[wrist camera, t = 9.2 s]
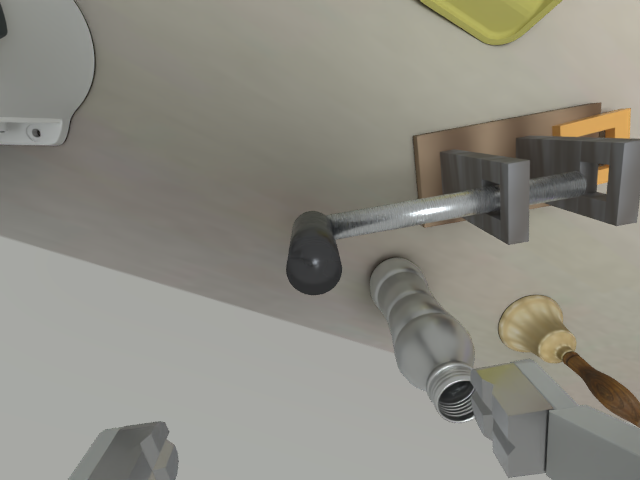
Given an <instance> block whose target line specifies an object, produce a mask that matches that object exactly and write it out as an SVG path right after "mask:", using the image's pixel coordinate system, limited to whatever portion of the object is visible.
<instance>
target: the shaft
mask: <svg viewBox="0 0 640 480" xmlns="http://www.w3.org/2000/svg"><path fill="white" fill-rule="evenodd" d="M585 190H586V179H585V177H584V175H583V174H582V173H581V172H579V171H573V172H568V173H562V174H556V175H551V176H545V177H540V178H534V179H530V189H529V205H533V204H539V203H545V202H550V201H556V200H562V199H567V198H573V197H579V196H581V195H583V194H584V192H585ZM499 210H500V185H495V186H489V187H484V188H478V189H472V190H467V191H461V192H456V193H450V194H444V195H439V196H433V197H428V198H422V199H416V200H411V201H405V202H400V203H394V204H388V205H383V206H377V207H372V208H366V209H360V210H355V211H349V212H344V213H338V214H332V215H327V216H325V215H324V214H322V213H320V212H316V211H309V212H305V213H303V214H301V215H300V216H299V217H298V218H297V219H296V220H295V222H294V224H293V229H292V235H291V241H290V248H289V254H288V260H287V267H286V272H287V277H288V279H289V282H290V283H291V284H292V286H293V287H294V288H295V289H297V290H298V291H300V292H302V293H304V294H308V295H320V294H323V293H326V292H328V291H330V290H331V289H332V288H334V287H335V286H336V284H337V283H338V282H339V280H340V277H341V273H342V265H341V261H340V257H339V253H338V248H337V244H336V240H335V239H341V238H347V237H352V236H358V235H364V234H369V233H375V232H381V231H386V230H392V229H398V228H403V227H409V226H415V225H420V224H426V223H432V222H437V221H443V220H448V219H454V218H460V217H465V216H471V215H477V214H482V213H488V212H494V211H499Z"/></svg>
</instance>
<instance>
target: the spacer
mask: <svg viewBox="0 0 640 480" xmlns="http://www.w3.org/2000/svg"><path fill="white" fill-rule="evenodd" d="M630 112H631V108H626V109H618V110H614V111H610V112H606V113H602V114H598V115H594V116H590V117H586V118H583V119H579V120H575V121H571V122H567V123H563V124H559V125H555V126H552V135H553V136H562V137H579V136H583V135H587V134H591V133H595V132H599V131H603V130H605V138H627V139H630ZM608 173H609V165H606V164H605V165H604V166H600V167H598V178H597V185H598V184H602V183H606V182H608Z"/></svg>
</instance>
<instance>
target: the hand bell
mask: <svg viewBox="0 0 640 480" xmlns="http://www.w3.org/2000/svg"><path fill="white" fill-rule="evenodd" d="M499 335H500V338H501V340H502V342H503V343H504V344H505V345H506V346H507V347H509V348H510V349H513V350H515V351H519V352H532V353H534V354H535V355H537V356H538V357H540V358H541V359H542V360H544V361H546V362H548V363H560V362H562V361H563V362H564V364H566V365H567V366H568V367H569V368H571V369H572V370H573V371H574V372H576V373H577V374H578V375H579V376H580V377H581V378H582V379H583V380H584V382H585V383H586V385H587V386H588V388H589V390H590V391H591V392H592V394H593V395H594V396H595V397H596V398H597V399H598V400H599V402H601V403H602V404H603V405H604V406H605V407H606V408H607V409H609V410H610V411H611V412H613V413H614V414H616V415H618V416H620V417H621V418H623V419H625V420H627V421H629V422H631V423H633V424H634V425H636V426H637V427H639V428H640V402H639V401H638V400H637V399H636V397H635V396H634V395H633V394H632V393H631V392H630V391H629V390H628V389H627V388H626V387H624V386H623V385H622V384H620V383H619V382H618V381H616V380H615V379H613V378H611V377H610V376H608V375H606V374H604V373H601V372H599V371H597V370H596V369H594V368H593V367H591V366H590V365H589V364H588V363H587V362H586V361H585V360H584V359H582V358H581V357H580V356H579V355H578V354H577V353H576V352H574V351H575V349H576V339H575V337H574V335H573V334H572V333H571V332H570V331H569V330H568V329H567V328H566V327H565V326H564V325H563V315H562V311H561V309H560V307H559V305H558V304H557V303H556V302H555V301H554V300H553V299H551V298H549V297H546V296H542V295H532V296H526V297H524V298H521V299H519V300H517V301H515V302H514V303H513V304H511V305H510V306H509V307H508V308H507V309H506V310H505V312H504V313H503V315H502V317H501V319H500V322H499Z"/></svg>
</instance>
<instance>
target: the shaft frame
mask: <svg viewBox="0 0 640 480" xmlns="http://www.w3.org/2000/svg"><path fill="white" fill-rule="evenodd" d="M598 114H601V103H590V104H585V105H579V106H574V107H568V108H563V109H557V110H552V111H546V112H541V113H535V114H530V115H524V116H519V117H514V118H508V119H503V120H497V121H492V122H486V123H481V124H475V125H470V126H464V127H459V128H453V129H448V130H442V131H437V132H431V133H426V134H421V135H415V136H413V143H414V155H415V166H416V178H417V189H418V199H422V198H428V197H433V196H439V195H444V194H450V193H456V192H461V191H467V190H472V189H478V188H484V187H489V186H495V185H500V210H499V211H494V212H488V213H482V214H477V215H471V216H465V217H460V218H454V219H448V220H443V221H437V222H432V223H426V224H421V225H422V226H423V227H424V228H426V227H432V226H437V225H443V224H449V223H454V222H460V221H466V220H467V221H468V222H470V223H472V224H474V225H475V226H477V227H479V228H480V229H482V230H484V231H486V232H487V233H489V234H491V235H493V236H494V237H496V238H498V239H499V240H501V241H503V242H505V243H506V244H508V245H510V244H516V243H522V242H528V241H529V209H534V208H539V207H545V206H551V205H552V206H555V207H558V208H561V209H564V210H567V211H571V212H574V213H577V214H580V215H583V216H586V217H590V218H593V219H596V220H599V221H602V222H605V223H609V224H612V225H615V226H619V225H625V224H631V223H637V217H638V208H639V200H640V139H627V138H599V132H595V133H591V134H587V135H583V136H579V137H562V136H553V135H552V126H555V125H559V124H563V123H567V122H571V121H575V120H579V119H583V118H586V117H590V116H594V115H598ZM599 164H606V165H609V173H608V185H607V194H603V193H599V192H596V191H597V178H598V165H599ZM573 171H579V172H581V173H582V174H583V175H584V177H585V179H586V190H585V192H584V194H583V195H581V196H579V197H573V198H567V199H562V200H556V201H550V202H545V203H539V204H533V205H529V189H530V179H534V178H540V177H545V176H551V175H556V174H562V173H568V172H573Z"/></svg>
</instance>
